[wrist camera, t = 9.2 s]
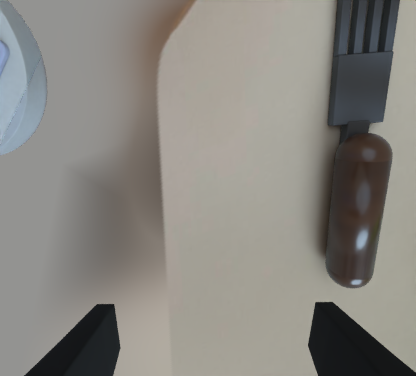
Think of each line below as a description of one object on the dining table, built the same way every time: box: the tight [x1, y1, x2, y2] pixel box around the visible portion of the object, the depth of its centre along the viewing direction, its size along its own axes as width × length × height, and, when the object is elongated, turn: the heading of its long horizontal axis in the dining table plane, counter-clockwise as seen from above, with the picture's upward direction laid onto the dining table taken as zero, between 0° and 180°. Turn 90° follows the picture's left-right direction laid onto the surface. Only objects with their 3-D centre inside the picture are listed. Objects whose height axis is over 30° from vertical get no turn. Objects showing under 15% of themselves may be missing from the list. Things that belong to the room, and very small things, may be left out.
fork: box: [325, 0, 400, 288], centre depth 15 cm, size 20×3×3 cm, turn 4°
